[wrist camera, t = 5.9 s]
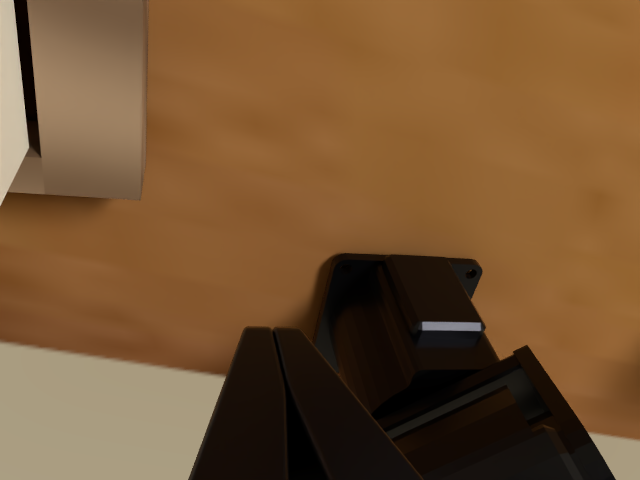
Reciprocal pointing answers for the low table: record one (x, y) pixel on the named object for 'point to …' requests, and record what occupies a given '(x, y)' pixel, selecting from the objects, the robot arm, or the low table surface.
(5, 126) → the cream cube
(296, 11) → the low table surface
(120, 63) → the walnut board
